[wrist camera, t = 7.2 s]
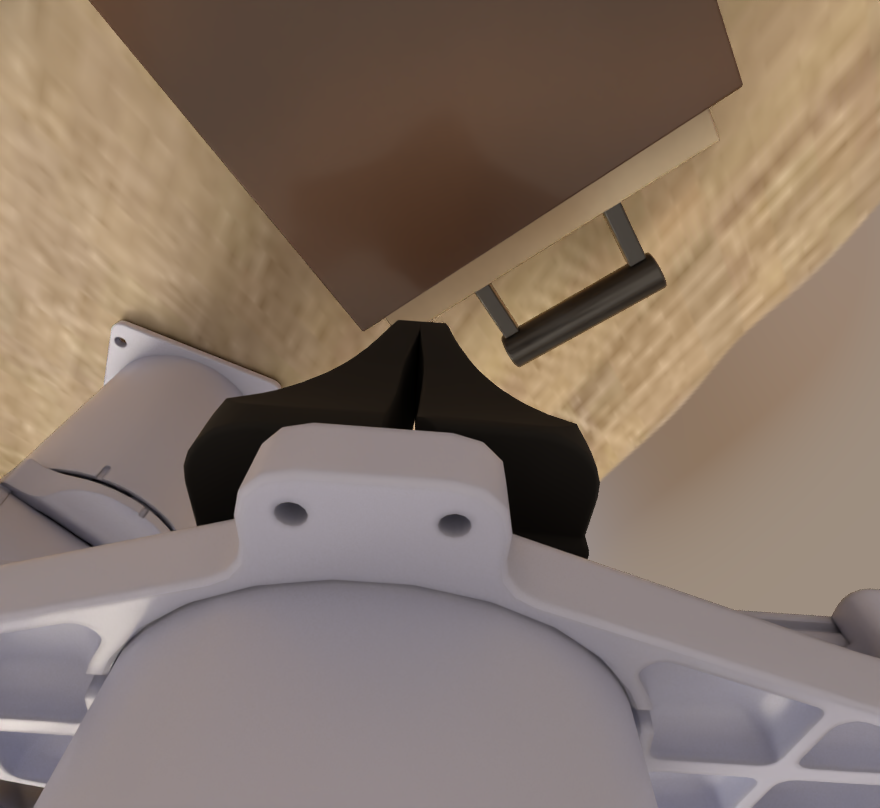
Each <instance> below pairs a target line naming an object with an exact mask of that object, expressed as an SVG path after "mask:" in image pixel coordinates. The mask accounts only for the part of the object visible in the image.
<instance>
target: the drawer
mask: <svg viewBox="0 0 880 808" xmlns="http://www.w3.org/2000/svg"><path fill="white" fill-rule="evenodd" d="M718 141H719V135H718V132H717V129H716V126H715V123H714V121H713V118H712V115H711V112H710V109H709V108H708V109H707V110H705V111H704V112H702V113H701V114H699V115H697V116H696V117H694V118H693V119H691V120H690V121H688V122H687V123H685V124H684V125H682V126H680V127H679V128H677V129H676V130H674V131H673V132H671V133H670V134H668V135H667V136H665V137H663V138H662V139H660V140H659V141H657V142H656V143H654V144H653V145H651V146H649V147H648V148H646V149H645V150H643V151H642V152H640V153H639V154H637V155H636V156H634V157H632V158H631V159H629V160H628V161H626V162H625V163H623V164H622V165H620V166H619V167H617V168H615V169H614V170H612V171H611V172H609V173H608V174H606V175H605V176H603V177H602V178H600V179H598V180H597V181H595V182H594V183H592V184H591V185H589V186H588V187H586V188H585V189H583V190H581V191H580V192H578V193H577V194H575V195H574V196H572V197H571V198H569V199H568V200H566V201H564V202H563V203H561V204H560V205H558V206H557V207H555V208H554V209H552V210H551V211H549V212H547V213H546V214H544V215H543V216H541V217H540V218H538V219H537V220H535V221H534V222H532V223H530V224H529V225H527V226H526V227H524V228H523V229H521V230H520V231H518V232H517V233H515V234H513V235H512V236H510V237H509V238H507V239H506V240H504V241H503V242H501V243H500V244H498V245H496V246H495V247H493V248H492V249H490V250H489V251H487V252H486V253H484V254H483V255H481V256H479V257H478V258H476V259H475V260H473V261H472V262H470V263H469V264H467V265H466V266H464V267H462V268H461V269H459V270H458V271H456V272H455V273H453V274H452V275H450V276H449V277H447V278H445V279H444V280H442V281H441V282H439V283H438V284H436V285H435V286H433V287H432V288H430V289H428V290H427V291H425V292H424V293H422V294H421V295H419V296H418V297H416V298H415V299H413V300H411V301H410V302H408V303H407V304H405V305H404V306H402V307H401V308H399V309H398V310H396V311H394V312H393V313H391V314H390V315H388V316H387V317H385V318H386V320H387V321H388V322H389V323H390V325H391V326H392V325H393V324H394V323H395V322H396V321H397V320H409V321H422V322H429V321H430V320H432V319H433V318H435V317H437V316H438V315H440V314H441V313H443V312H445V311H446V310H448V309H449V308H451V307H453V306H454V305H456V304H457V303H459V302H461V301H462V300H464V299H466V298H467V297H469V296H470V295H472V294H474V293H475V294H476V295H477V297H478V298H479V300H480V301H481V303H482V304H483V306H484V307H485V309H486V310H487V312H488V313H489V314H490V316H491V317H492V319H493V320H494V322H495V323H496V325H497V326H498V328H499V329H500V331H501V332H502V334H503V336H502V343H503V345H504V348H505V350H506V352H507V354H508V355H509V357H510V359H511V360H512V361H513V363H514V364H515V365H516V366H517V367H521V366H523V365H525V364H526V363H528V362H530V361H532V360H534V359H536V358H537V357H539V356H541V355H543V354H545V353H546V352H548V351H550V350H552V349H554V348H556V347H557V346H559V345H561V344H563V343H565V342H567V341H568V340H570V339H572V338H574V337H576V336H578V335H579V334H581V333H583V332H585V331H587V330H588V329H590V328H592V327H594V326H596V325H598V324H599V323H601V322H603V321H605V320H607V319H609V318H610V317H612V316H614V315H616V314H618V313H620V312H621V311H623V310H625V309H627V308H629V307H630V306H632V305H634V304H636V303H638V302H640V301H641V300H643V299H645V298H647V297H649V296H651V295H652V294H654V293H656V292H658V291H660V290H662V289H663V288H665V287H666V286H667V285H666V280H665V277H664V275H663V273H662V271H661V269H660V267H659V265H658V264H657V262H656V261H655V259H654V258H653V256H652V255H651V254H650V253H644V251H643V249H642V247H641V245H640V243H639V241H638V238H637V236H636V234H635V232H634V230H633V228H632V226H631V223H630V221H629V219H628V217H627V215H626V213H625V211H624V208H623V206H622V204H621V201H623V200H625V199H626V198H628V197H630V196H631V195H633V194H634V193H636V192H638V191H639V190H641V189H642V188H644V187H646V186H647V185H649V184H650V183H652V182H654V181H655V180H657V179H658V178H660V177H662V176H663V175H665V174H666V173H668V172H670V171H671V170H673V169H675V168H676V167H678V166H679V165H681V164H683V163H684V162H686V161H687V160H689V159H691V158H692V157H694V156H695V155H697V154H699V153H700V152H702V151H703V150H705V149H707V148H708V147H710V146H712V145H713V144H715V143H716V142H718ZM601 214H603V216H604V218H605V220H606V222H607V224H608V226H609V228H610V230H611V232H612V234H613V236H614V239H615V241H616V243H617V245H618V247H619V249H620V251H621V253H622V255H623V257H624V259H625V261H626V262H627V264H626V265H624V266H622V267H621V268H619V269H617V270H616V271H614V272H612V273H610V274H609V275H607V276H605V277H603V278H602V279H600V280H598V281H597V282H595V283H593V284H591V285H590V286H588V287H586V288H584V289H583V290H581V291H579V292H577V293H576V294H574V295H572V296H571V297H569V298H567V299H565V300H564V301H562V302H560V303H558V304H557V305H555V306H553V307H552V308H550V309H548V310H546V311H545V312H543V313H541V314H539V315H538V316H536V317H534V318H532V319H531V320H529V321H527V322H526V323H524V324H522V325H520V326H519V327H518V325H517V323H516V321H515V320H514V318H513V317H512V315H511V314H510V312H509V310H508V309H507V307H506V306H505V304H504V303H503V301H502V300H501V298H500V297H499V295H498V293H497V292H496V290H495V289H494V287H493V286H492V284H491V282H493V281H494V280H496V279H498V278H499V277H501V276H502V275H504V274H506V273H507V272H509V271H511V270H512V269H514V268H515V267H517V266H519V265H520V264H522V263H523V262H525V261H527V260H528V259H530V258H531V257H533V256H535V255H536V254H538V253H539V252H541V251H543V250H544V249H546V248H548V247H549V246H551V245H552V244H554V243H556V242H557V241H559V240H560V239H562V238H564V237H565V236H567V235H568V234H570V233H572V232H573V231H575V230H576V229H578V228H580V227H581V226H583V225H584V224H586V223H588V222H589V221H591V220H593V219H594V218H596V217H597V216H599V215H601Z"/></svg>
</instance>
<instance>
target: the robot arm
mask: <svg viewBox="0 0 880 808" xmlns="http://www.w3.org/2000/svg"><path fill="white" fill-rule="evenodd" d="M120 337H121V338H123V339H124V340H125V341H126V343H124V342H122V341H121V340H120ZM414 421H415V430H413V426H414ZM599 485H600V481H599V476H598V471H597V467H596V464H595V461H594V459H593V456H592V453H591V451H590V449H589V447H588V445H587V443H586V441H585V439H584V437H583V435H582V434H581V432H580V430H579V428H578V426H577V424H575V423H572V422H569V421H566V420H563V419H560V418H557V417H554V416H551V415H548V414H546V413H543V412H541V411H539V410H537V409H535V408H532V407H530V406H528V405H526V404H524V403H522V402H521V401H519V400H517V399H515V398H514V397H512V396H511V395H509V394H507V393H506V392H504V391H503V390H501V389H500V388H499V387H497V386H496V385H495V384H494V383H492V382H491V381H490V380H489V379H488V378H486V377H485V376H484V375H483V374H482V373H481V372H480V371H479V370H478V369H477V368H476V367H475V366H474V365H473V364H472V362H471V361H470V360H469V359H468V357H467V356H466V354H465V353H464V352H463V350H462V349H461V348H460V346H459V345H458V343H457V341H456V340H455V338H454V336H453V335H452V333H451V331H450V328H449V327H448V326H447V324H446V323H434V322H422V321H409V320H397V321H396V322H395V323H394V324H393V325H392V326H391V327H390V328H388V329H387V330H386V331H385V332H384V333H383V334H382V335H381V336H380V337H379V338H378V339H377V340H376V341H374V342H373V343H372V344H371V345H370V346H369V347H367V348H366V349H365V350H363V351H362V352H361V353H359V354H358V355H357V356H355V357H354V358H352V359H351V360H349V361H348V362H346V363H344V364H342V365H341V366H339V367H337V368H335V369H333V370H331V371H329V372H327V373H325V374H322V375H320V376H317V377H315V378H312V379H310V380H307V381H305V382H302V383H299V384H296V385H292V386H289V387H285V388H281V385H280V384H279V383H278V382H277V381H275V380H274V379H271V378H268V377H266V376H263V375H261V374H258V373H256V372H253V371H251V370H248V369H246V368H243V367H241V366H238V365H236V364H233V363H231V362H228V361H226V360H223V359H221V358H218V357H216V356H213V355H211V354H208V353H206V352H203V351H200V350H198V349H195V348H193V347H190V346H188V345H185V344H183V343H180V342H178V341H175V340H173V339H170V338H168V337H165V336H163V335H160V334H158V333H155V332H153V331H150V330H148V329H145V328H143V327H140V326H138V325H135V324H132V323H130V322H127V321H118V322H117V323H115V324H114V325H113V326H112V328H111V335H110V342H109V349H108V357H107V364H106V371H105V378H104V386H103V387H102V388H101V389H100V390H99V391H98V392H97V393H95V394H94V395H93V396H92V397H91V398H90V399H89V400H88V401H87V402H86V403H85V404H83V405H82V406H81V407H80V408H79V409H78V410H77V411H76V412H75V413H74V414H73V415H72V416H70V417H69V418H68V419H67V420H66V421H65V422H64V423H63V424H62V425H61V426H60V427H58V428H57V429H56V430H55V431H54V432H53V433H52V434H51V435H50V436H49V437H48V438H47V439H45V440H44V441H43V442H42V443H41V444H40V445H39V446H38V447H37V448H36V449H35V450H33V451H32V452H31V453H30V454H29V455H28V456H27V457H26V458H25V459H24V460H23V461H22V462H20V463H19V464H18V465H17V466H16V467H15V468H14V469H13V470H11V471H10V472H9V473H7V474H6V475H5V476H4V477H2V478H1V479H0V808H880V589H862V590H858V591H855V592H852V593H850V594H848V595H847V596H846V597H845V598H843V599H842V600H841V602H840V603H839V604H838V606H837V607H836V609H835V611H834V613H833V615H832V617H828V616H814V615H799V614H783V613H770V612H755V611H754V612H753V611H739V610H733V609H730V608H727V607H724V606H721V605H719V604H716V603H713V602H710V601H707V600H704V599H701V598H698V597H695V596H692V595H689V594H687V593H683V592H681V591H678V590H675V589H672V588H669V587H666V586H663V585H660V584H657V583H655V582H651V581H649V580H646V579H643V578H640V577H637V576H634V575H631V574H628V573H625V572H622V571H620V570H617V569H614V568H611V567H608V566H605V565H602V564H599V563H596V562H593V561H590V560H588V556H589V549H588V545H587V542H586V538H585V534H586V531H587V528H588V525H589V522H590V519H591V516H592V513H593V510H594V507H595V504H596V501H597V498H598V492H599Z"/></svg>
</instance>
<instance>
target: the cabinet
mask: <svg viewBox="0 0 880 808" xmlns="http://www.w3.org/2000/svg"><path fill="white" fill-rule="evenodd" d="M89 1H90V2H91V4H92V5H93V6H94V7H95V8H96V10H97V11H98V12H99V13H100V15H101V16H102V17H103V18H104V19H105V21H106V22H107V23H108V24H109V25H110V27H111V28H112V29H113V30H114V31H115V33H116V34H117V35H118V36H119V37H120V39H121V40H122V41H123V42H124V44H125V45H126V46H127V47H128V48H129V50H130V51H131V52H132V53H133V54H134V56H135V57H136V58H137V59H138V60H139V62H140V63H141V64H142V65H143V66H144V68H145V69H146V70H147V71H148V72H149V74H150V75H151V76H152V77H153V79H154V80H155V81H156V82H157V83H158V85H159V86H160V87H161V88H162V89H163V91H164V92H165V93H166V94H167V95H168V97H169V98H170V99H171V100H172V101H173V103H174V104H175V105H176V106H177V108H178V109H179V110H180V111H181V112H182V114H183V115H184V116H185V117H186V118H187V120H188V121H189V122H190V123H191V124H192V126H193V127H194V128H195V129H196V130H197V132H198V133H199V134H200V135H201V137H202V138H203V139H204V140H205V141H206V143H207V144H208V145H209V146H210V147H211V149H212V150H213V151H214V152H215V153H216V155H217V156H218V157H219V158H220V159H221V161H222V162H223V163H224V164H225V166H226V167H227V168H228V169H229V170H230V172H231V173H232V174H233V175H234V176H235V178H236V179H237V180H238V181H239V182H240V184H241V185H242V186H243V187H244V188H245V190H246V191H247V192H248V193H249V195H250V196H251V197H252V198H253V199H254V201H255V202H256V203H257V204H258V205H259V207H260V208H261V209H262V210H263V211H264V213H265V214H266V215H267V216H268V217H269V219H270V220H271V221H272V222H273V224H274V225H275V226H276V227H277V228H278V230H279V231H280V232H281V233H282V234H283V236H284V237H285V238H286V239H287V240H288V242H289V243H290V244H291V245H292V246H293V248H294V249H295V250H296V251H297V253H298V254H299V255H300V256H301V257H302V259H303V260H304V261H305V262H306V263H307V265H308V266H309V267H310V268H311V269H312V271H313V272H314V273H315V274H316V275H317V277H318V278H319V279H320V280H321V282H322V283H323V284H324V285H325V286H326V288H327V289H328V290H329V291H330V292H331V294H332V295H333V296H334V297H335V298H336V300H337V301H338V302H339V303H340V304H341V306H342V307H343V308H344V309H345V311H346V312H347V313H348V314H349V315H350V317H351V318H352V319H353V320H354V321H355V323H356V324H357V325H358V326H359V327H360V329H361V330H362V331H365V330H367V329H368V328H370V327H371V326H373V325H374V324H376V323H377V322H379V321H381V320H382V319H384V318H385V317H387V316H388V315H390V314H391V313H393V312H394V311H396V310H398V309H399V308H401V307H402V306H404V305H405V304H407V303H408V302H410V301H411V300H413V299H415V298H416V297H418V296H419V295H421V294H422V293H424V292H425V291H427V290H428V289H430V288H432V287H433V286H435V285H436V284H438V283H439V282H441V281H442V280H444V279H445V278H447V277H449V276H450V275H452V274H453V273H455V272H456V271H458V270H459V269H461V268H462V267H464V266H466V265H467V264H469V263H470V262H472V261H473V260H475V259H476V258H478V257H479V256H481V255H483V254H484V253H486V252H487V251H489V250H490V249H492V248H493V247H495V246H496V245H498V244H500V243H501V242H503V241H504V240H506V239H507V238H509V237H510V236H512V235H513V234H515V233H517V232H518V231H520V230H521V229H523V228H524V227H526V226H527V225H529V224H530V223H532V222H534V221H535V220H537V219H538V218H540V217H541V216H543V215H544V214H546V213H547V212H549V211H551V210H552V209H554V208H555V207H557V206H558V205H560V204H561V203H563V202H564V201H566V200H568V199H569V198H571V197H572V196H574V195H575V194H577V193H578V192H580V191H581V190H583V189H585V188H586V187H588V186H589V185H591V184H592V183H594V182H595V181H597V180H598V179H600V178H602V177H603V176H605V175H606V174H608V173H609V172H611V171H612V170H614V169H615V168H617V167H619V166H620V165H622V164H623V163H625V162H626V161H628V160H629V159H631V158H632V157H634V156H636V155H637V154H639V153H640V152H642V151H643V150H645V149H646V148H648V147H649V146H651V145H653V144H654V143H656V142H657V141H659V140H660V139H662V138H663V137H665V136H667V135H668V134H670V133H671V132H673V131H674V130H676V129H677V128H679V127H680V126H682V125H684V124H685V123H687V122H688V121H690V120H691V119H693V118H694V117H696V116H697V115H699V114H701V113H702V112H704V111H705V110H707V109H708V108H710V107H711V106H713V105H714V104H716V103H718V102H719V101H721V100H722V99H724V98H725V97H727V96H728V95H730V94H731V93H733V92H735V91H736V90H738V89H739V88H741V87H742V85H743V83H742V80H741V77H740V73H739V70H738V67H737V64H736V61H735V57H734V54H733V51H732V48H731V44H730V41H729V38H728V35H727V32H726V28H725V25H724V22H723V19H722V15H721V12H720V9H719V6H718V3H717V0H89Z"/></svg>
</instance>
